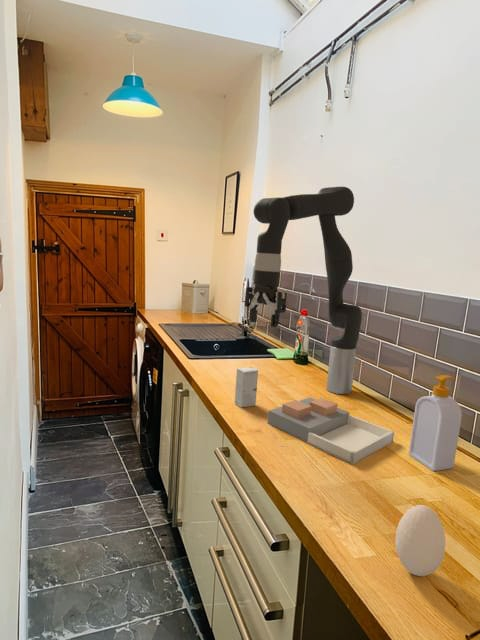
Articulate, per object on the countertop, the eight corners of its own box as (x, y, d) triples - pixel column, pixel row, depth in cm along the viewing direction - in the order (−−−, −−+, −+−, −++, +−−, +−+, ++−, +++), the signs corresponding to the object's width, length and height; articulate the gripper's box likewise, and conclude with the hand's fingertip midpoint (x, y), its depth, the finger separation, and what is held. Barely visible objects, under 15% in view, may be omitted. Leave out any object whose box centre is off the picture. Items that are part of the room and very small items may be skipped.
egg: (431, 597, 63) (442, 529, 61) (384, 571, 68) (393, 506, 66) (445, 571, 69) (456, 507, 67) (401, 548, 73) (410, 488, 71)
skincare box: (241, 408, 134) (243, 372, 132) (233, 403, 137) (236, 368, 135) (256, 405, 137) (259, 370, 135) (248, 400, 141) (251, 366, 139)
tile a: (320, 405, 129) (321, 397, 129) (336, 411, 125) (337, 403, 125) (309, 409, 125) (309, 401, 125) (325, 416, 121) (326, 408, 121)
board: (308, 408, 137) (309, 397, 136) (348, 424, 126) (349, 412, 125) (267, 423, 123) (268, 410, 122) (307, 442, 112) (309, 428, 112)
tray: (349, 424, 126) (350, 415, 126) (392, 441, 116) (394, 431, 116) (307, 443, 112) (308, 432, 111) (352, 464, 102) (353, 453, 101)
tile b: (294, 407, 126) (295, 400, 126) (310, 414, 122) (311, 406, 121) (281, 412, 122) (282, 404, 122) (297, 418, 118) (298, 410, 117)
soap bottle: (455, 468, 103) (470, 381, 99) (434, 472, 101) (448, 382, 97) (428, 451, 112) (441, 370, 108) (408, 454, 109) (420, 371, 105)
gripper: (294, 271, 116) (290, 327, 119) (258, 267, 126) (255, 319, 129) (277, 271, 111) (272, 330, 114) (241, 267, 121) (237, 321, 124)
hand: (263, 324), depth 122 cm, fingers open, 8 cm apart
